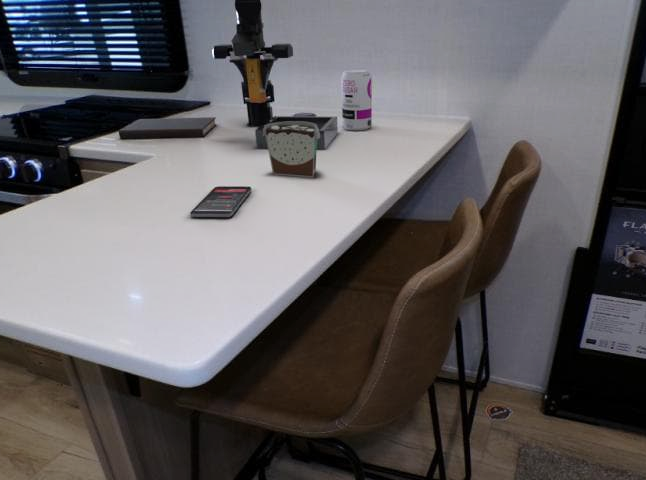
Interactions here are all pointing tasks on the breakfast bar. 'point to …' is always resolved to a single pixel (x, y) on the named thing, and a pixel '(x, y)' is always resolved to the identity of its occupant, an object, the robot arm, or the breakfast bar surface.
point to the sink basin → (323, 123)
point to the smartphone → (221, 202)
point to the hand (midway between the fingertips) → (257, 89)
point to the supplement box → (255, 81)
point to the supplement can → (356, 99)
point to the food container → (292, 147)
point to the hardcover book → (168, 128)
